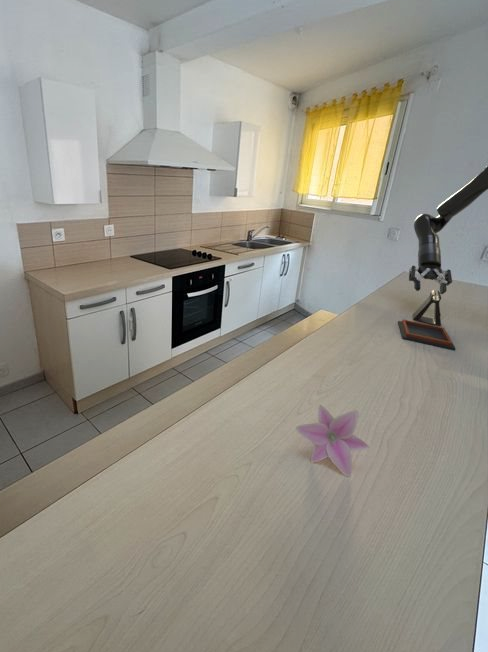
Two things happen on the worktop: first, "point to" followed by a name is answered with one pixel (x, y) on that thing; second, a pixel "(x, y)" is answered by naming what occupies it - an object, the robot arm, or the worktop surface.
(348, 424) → the lily
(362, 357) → the worktop surface
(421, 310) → the phone stand
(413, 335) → the rimmed tray
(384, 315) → the worktop surface
